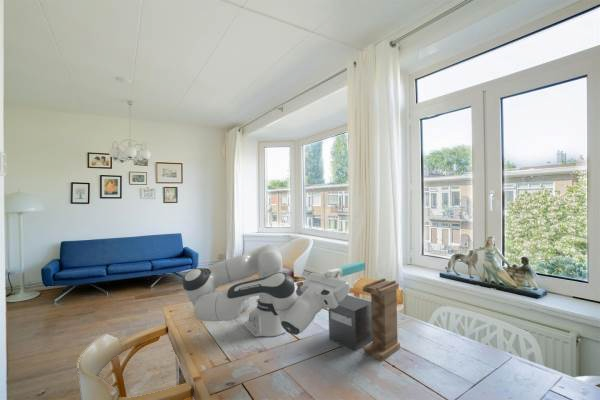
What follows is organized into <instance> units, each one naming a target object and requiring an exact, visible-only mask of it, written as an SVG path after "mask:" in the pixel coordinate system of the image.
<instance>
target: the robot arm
mask: <svg viewBox="0 0 600 400" xmlns="http://www.w3.org/2000/svg"><path fill="white" fill-rule="evenodd" d="M283 267H284V265H283V256H282V253H281V250H280V249H279V247H277V246H276V245H274V244H266V245H263V246H261V247H258V248H255V249H253V250H251V251H248V252H245V253H242V254H239V255H236V256H233V257H230V258H226V259H223V260H221V261H219V262H216V263H214V264H212V265H210V266H208V267H207V268H206V267H205V268H204V267H203V268H202V267H198V268H193V269H191V270H188V271H187V272H186V273H185V274H184V276H183V277H182V279H181V283H182V287H183V289H184V290H185V291H184V292H185V294H186V295H187V298H188V300H189V301H190V302H191V304H192V306H193V307H194V309H193V310H194V314H195V316H196V317H197V318H198V319H199V320H204V321H209V322H210V321H212V322H222V321H223V322H224V321H225V322H227V321H232V320H235V319H236V318H238V317H240V315H241V313H242V312H243V311H244V310H243V307H244V302H245V299H246V298H248V297H251V298H252V297H257V296H258V299H256V302H255V303H257V304H256V307H255V308H253V309H252V310H251V311H250V312H249V315H248V319H247V320H246V321H245V322H243V325H244V327H245V328H246V329H247V330H248V331H249V332H250V333H251V334H252V336H253V337H275V336H276V337H277V336H280V335H282V334H284V333H285V332H287V333H289V334H291V335H292V336H294V335H295V336H297V335H299V334H301V333H303V331H305V330H306V329H307V328H308V327H309V326H310V325H311V323H312V322H313V321H314V319H315V317H316V315H317V314H318V313H320V312H321V311H322V310H326V309H329V308H337V306H338V303H337V302H341V301H342V300H343V299H344V298H345V297H346V296H347V295H349V293H350V292H351V287H350V284H349V283H348V281H347V280H343V279H342V275H343V274H342V272H338V273H337V274H336V275H337V277H336V278H331V277H327V272H325V273H323V274H318V273H314V272H312V273H308V274H309V275H307V277H306V278H304V280H303V281H302V282H303V285H302V286H301V287H300V290H301V292H304V293H303V294H302V295H301V296H298V295H297V294H296V288H295V282H294V278H293V277H292V275H291V274H289V273H286V272H283V269H284V268H283ZM256 274H257V275H258V277H257V278H256V279H250V280H247V281H246V280H245V279H249V278H251V277H252V276H255V275H256ZM242 280H243V281H242ZM244 280H245V281H244ZM239 281H241V282H239ZM237 282H239V283H237ZM233 283H236V284H233ZM231 284H233V285H232V286H230V287H229V288H228V289H227V290H222V291H221V290H220V291H217V288H219V287H221V286H225V285H231ZM242 310H243V311H242Z"/></svg>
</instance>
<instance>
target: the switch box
mask: <svg viewBox="0 0 600 400" xmlns="http://www.w3.org/2000/svg"><path fill="white" fill-rule="evenodd" d="M337 303H338V306H337V308H328V335H329V336H328V338H329V340H330V341H332V342H335V343H337V344H339V345H341V346H343V347H345V348H347V349H350V350H352V351H355V352H357V351H359V350H360V349H362V348H365V347H366V346H368V345H369V344H371V343H372V312H371V300H367V299H363V298H360V297H356V296H352V295H349V294H347V296H346V297H345V298H344V299H343V300H342V301H341V302H337Z"/></svg>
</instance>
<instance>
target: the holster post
mask: <svg viewBox="0 0 600 400" xmlns="http://www.w3.org/2000/svg"><path fill="white" fill-rule="evenodd" d="M386 279H387V278H384V277H383V278H381V279H378V280H375V281H372V282H369V283H367V284H365V285H362V292H364V293H367V294H370V302H371V312H372V342H370V343H368V344H367V345H365V346H364V347H363V349H364V351H363V352H364V354H365V355H369V356H371V357H373V358H375V359H377V360H379V361H381V362H384V361H385V360H386V359H388V358H389V357H390V356H392V355H393V354H394V353H396V352H397V351H398V350H399V349H401V343H400V342H399V341H398V304H397V303H398V302H397V301H398V300H397V299H398V298H397V290H398V289H399V283H398V282H397V281H396V280H391V281H388V280H386Z"/></svg>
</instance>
